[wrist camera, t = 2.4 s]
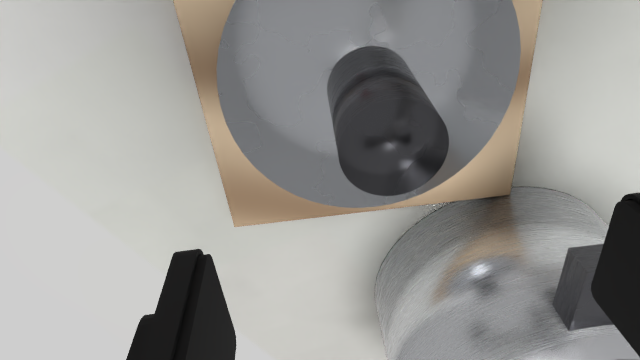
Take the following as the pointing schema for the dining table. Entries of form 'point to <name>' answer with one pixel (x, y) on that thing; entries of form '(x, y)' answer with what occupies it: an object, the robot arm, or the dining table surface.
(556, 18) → the dining table surface
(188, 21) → the trivet
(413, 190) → the lid
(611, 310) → the robot arm
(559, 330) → the pot
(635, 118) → the dining table surface
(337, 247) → the dining table surface
